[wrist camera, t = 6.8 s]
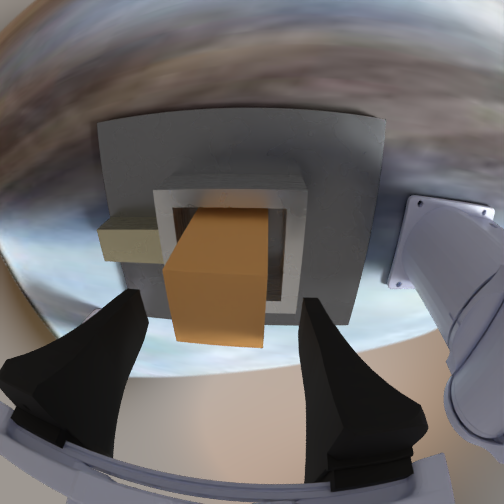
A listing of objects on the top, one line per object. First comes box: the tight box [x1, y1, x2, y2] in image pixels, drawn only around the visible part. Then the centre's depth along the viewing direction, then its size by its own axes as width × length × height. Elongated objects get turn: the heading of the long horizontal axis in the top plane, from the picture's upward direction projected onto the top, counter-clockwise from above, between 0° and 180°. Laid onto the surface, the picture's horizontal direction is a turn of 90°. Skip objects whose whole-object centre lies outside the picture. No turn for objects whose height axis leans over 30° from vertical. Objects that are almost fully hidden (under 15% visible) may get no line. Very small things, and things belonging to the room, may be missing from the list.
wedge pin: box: [162, 207, 268, 348], centre depth 15 cm, size 4×4×8 cm
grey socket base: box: [97, 107, 386, 325], centre depth 18 cm, size 18×16×4 cm
